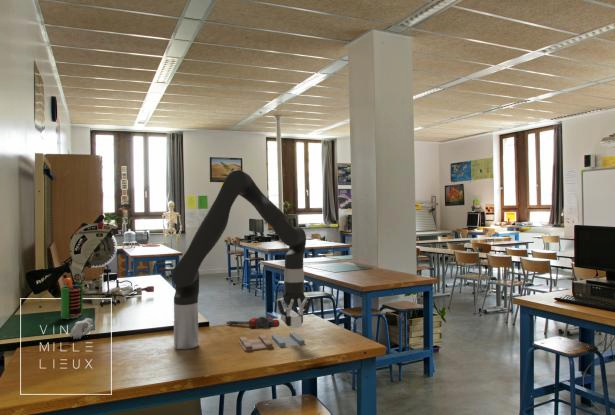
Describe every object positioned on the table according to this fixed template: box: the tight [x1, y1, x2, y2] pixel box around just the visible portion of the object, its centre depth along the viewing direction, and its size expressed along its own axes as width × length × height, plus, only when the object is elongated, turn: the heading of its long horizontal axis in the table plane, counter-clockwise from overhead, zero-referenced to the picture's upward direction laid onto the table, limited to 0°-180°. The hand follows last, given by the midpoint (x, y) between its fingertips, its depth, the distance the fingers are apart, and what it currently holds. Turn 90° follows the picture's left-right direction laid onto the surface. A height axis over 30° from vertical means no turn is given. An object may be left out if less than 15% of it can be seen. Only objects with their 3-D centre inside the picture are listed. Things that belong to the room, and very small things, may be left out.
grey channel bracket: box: [270, 331, 306, 348], centre depth 179 cm, size 12×11×3 cm
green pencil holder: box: [60, 277, 84, 318], centre depth 227 cm, size 10×9×20 cm
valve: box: [226, 316, 280, 330], centre depth 209 cm, size 6×26×15 cm
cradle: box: [238, 334, 274, 353], centre depth 175 cm, size 13×11×3 cm
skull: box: [69, 317, 94, 340], centre depth 194 cm, size 8×9×12 cm
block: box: [280, 308, 302, 329], centre depth 174 cm, size 14×4×4 cm, turn 19°
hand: (293, 325), depth 170 cm, fingers closed on block, 4 cm apart
